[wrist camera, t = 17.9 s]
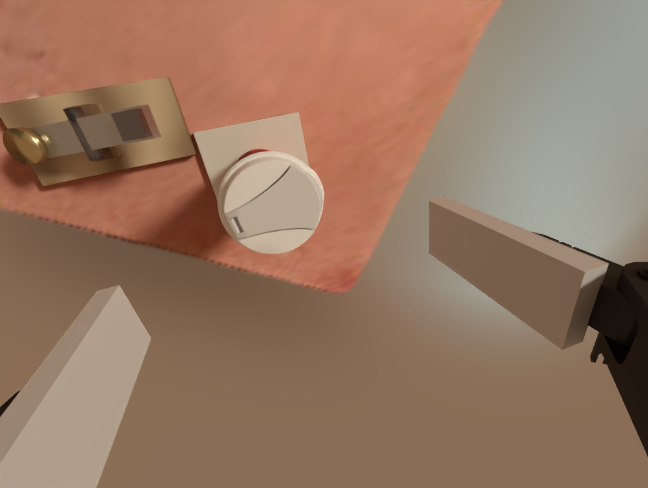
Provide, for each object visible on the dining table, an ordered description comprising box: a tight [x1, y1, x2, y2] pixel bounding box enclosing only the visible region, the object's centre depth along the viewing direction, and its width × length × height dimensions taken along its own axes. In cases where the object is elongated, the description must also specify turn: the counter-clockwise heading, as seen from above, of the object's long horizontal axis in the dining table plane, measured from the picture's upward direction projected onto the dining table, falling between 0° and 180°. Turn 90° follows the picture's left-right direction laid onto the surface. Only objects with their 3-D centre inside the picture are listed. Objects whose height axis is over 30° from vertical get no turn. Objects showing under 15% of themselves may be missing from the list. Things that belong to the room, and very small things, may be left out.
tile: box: [194, 112, 309, 199], centre depth 33 cm, size 11×11×1 cm
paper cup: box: [217, 149, 324, 254], centre depth 26 cm, size 8×8×14 cm
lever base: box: [0, 77, 196, 186], centre depth 26 cm, size 14×7×4 cm, turn 100°
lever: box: [3, 105, 161, 165], centre depth 23 cm, size 12×4×2 cm, turn 100°
